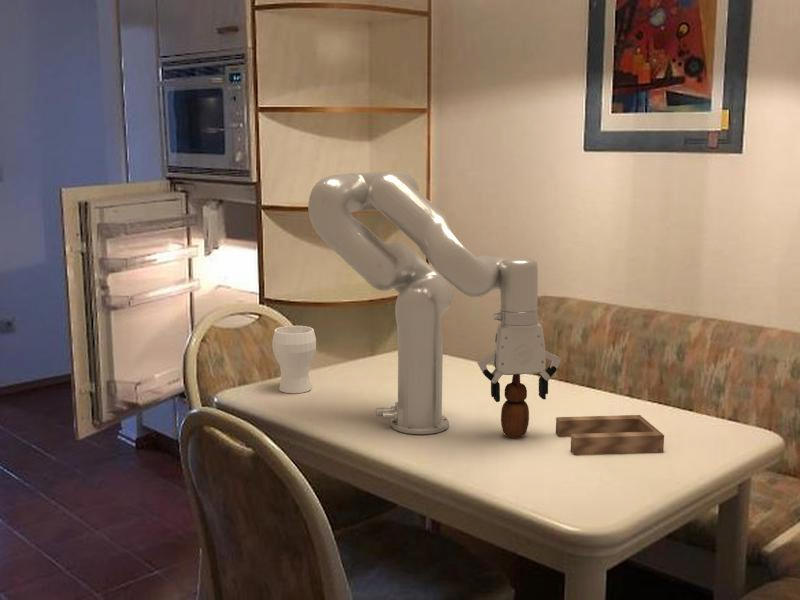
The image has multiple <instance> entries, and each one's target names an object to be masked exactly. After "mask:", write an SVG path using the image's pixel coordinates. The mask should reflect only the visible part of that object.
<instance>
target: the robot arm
mask: <svg viewBox="0 0 800 600" xmlns="http://www.w3.org/2000/svg"><path fill="white" fill-rule="evenodd" d="M308 198H309V199H308V204H307V205H308V206H307V208H308V216H309V220H310V223H311V225H312V227H313V229H314V231H315V232H316V235H318V237H319V238H320V239H321V240H322V241H324V243H325V244H326V245H327V246H329V248H330V249H332V250H333V252H335V253H337V255H338V256H339V257H340V258H341V259H343V261H344V262H345V263H347V265H349V267H351V268H352V269H353V270H354V271H355V272H356V273H357V274H358V275H359V276H360V277H362V279H364V280H365V281H366V283H368V285H370V287H372V288H374V289H375V290H378V291H381V292H382V291H385V292H386V291H389V290H393V289H394V290H395V292H397V293H398V295H397V297H396V301H395V306H394V308H395V309H394V311H395V313H394V314H395V322H396V329H397V330H396V332H397V361H398V362H397V369H398V370H397V402H396V401H395V402H394V405H391V406H390V407H376V409H375V413H376V415H375V416H376V417H377V418H378V417H382V419H383V420H387V419H390V427H391V428H392V429H393V430H395V431H397V432H400V433H405V434H411V435H431V434H438V433H441V432H443V431H445V430H447V429H448V428H449V426H450V420H449V419H448V418H447V417H446V416H444V415H443V414H442V413H443V357H444V356H443V355H444V354H443V350H444V349H443V347H444V346H443V345H444V344H443V331H442V316H444V314H446V313H447V312H448V311H449V309H450V308H451V306H452V303H453V300H454V294H453V290H452V287H451V286H450V284H451V285H452V286H453V287H455V288H456V290H458V291H459V292H460V293H462V294H464V295H466V296H467V297H470V298H483V297H484V296H486V295H488V294H489V293H490V292H493V291H495V290H500V309H499V311H498V312H496V313H494V314H493V321H499V322H500V323H498V324H497V326H496V331H495V339H494V340H495V341H494V347H493V348H494V350H493V352H492V353H490V354H488V355H486V356H485V357H483V358H481V359H480V360H478V361H477V365H478V367H479V369H480V371H481V372H482V374H483V375H484V377H486V378H487V379H488V380H489V381H490V395H491V396H490V397H491V398H493V399H494V401H495V402H496V403H499V402H501V384H500V382H499V380H500V379H501V378H502V377H503V375H504V376H513V375H519V374H520V375H533V374H539V375H540V377H538V396H539V397H540V398H541V399H542V400H546V399H547V395H548V394H549V381H550V379H551V377H552V376H553V375H555V373H556V372H557V369H558V367H559V365H561V362H562V358H561V357H559V355H558V356H557V355H555V354H553V353H551V352H549V351H547V350H546V345H545V344H546V342H545V335H544V329H543V324H542V323H539V322H538V321H539V319H538V318H539V317H538V316H539V315H538V310H539V309H538V307H539V306H538V305H539V304H538V297H539V296H538V291H539V290H538V282H539V281H538V278H539V277H538V274H539V273H538V271H539V270H538V263H537V261H536V260H535V258H531V257H526V256H525V257H524V256H513V257H504V256H503V257H502V256H501V257H500V256H494V255H489V254H488V255H487V254H482V255H479V256H475V255H474V253H472V252H471V251H470V250H469V249H467V247H466V246H464V245H463V243H461V242H460V240H459V239H458V238H457V237H456V236H455V235H454V233H453V231H452V229H451V227H450V224H449V223H450V222H449V220H448V218H447V216H446V215H445V213H444V212H443V211H442V210H441V209H439V208H438V207H437V206H436V205H435V204H433V203H432V202H431V201H430V200H429V199H428V198H427V197H425V196H424V194H422V193H421V192H420V191H419V185H418V182H417V180H416V179H415V178H414V177H413V175H411V174H409V173H408V172H405V171H403V170H391V171H383V172H382V171H380V172H356V173H354V172H352V173H342V174H332V175H329V176H326V177H324V178H320V180H318V181H317V182H316V183H315V185H314V186H313V187H312V189H311V192H310V194H309V197H308ZM376 211H377V212H380V213H381V215H383V216H384V217H385V218H387V220H388V221H389V222H390V223H391V224H393V225H394V226H395V227H397V229H399V230H400V232H402V233H403V234H404V235H406V237H408V238H409V239H410V240H411V241H412V242H413V243H415V245H416V246H417V247H418V248H419V250H420V251H421V253H422V254H423V255H424V257H425V258H426V259H427V260H428V262H429V263H430V264H431V265H430V264H429V263H427V261H426V260H425V259H424V258H422V257H421V255H419V254H418V253H417V252H416V251H415V250H413V249H412V248H411V247H409V246H408V245H406V244H404V243H400V242H394V241H393V242H388V243H387V242H384V241H383V240H382V239H381V238H380V237H378V236H377V235H376V234H375V233H374V232H373V231H372V230H371V229H370V228H369V227H368V226H366V225H365V224H363V223H362V222H361V221H359V220H358V219H357V218H355V217H354V215H353V214H352V213H357V212H376ZM449 283H450V284H449ZM547 360H550V361H551V363H550V365H549V366H548V367H547ZM492 362H493V367H494V369H493V371H492V372H491V371H490V370H489V369H488V367H487V366H488V365H489V364H491V363H492Z"/></svg>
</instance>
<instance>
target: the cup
mask: <svg viewBox="0 0 800 600" xmlns="http://www.w3.org/2000/svg"><path fill="white" fill-rule="evenodd" d="M315 333H316V332H315V330H314V328H313V327H311V326H305V325H285V326H281V327H279V326H278V327H277V328H275V329H274V332H273V336H272V352H273V354H274V357H275V360H276V361H277V364H278V366H279V371H280V381H279V388H278V389H279V391H280V392H282V393H286V394H301V393H307V392H309V391H310V390H311V389H312V387H311V386H312V385H311V379H310V375H309V373H310V366H311V363H312V362H313V359H314V357H315V353H316V349H317V337H316V334H315Z"/></svg>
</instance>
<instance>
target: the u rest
mask: <svg viewBox="0 0 800 600" xmlns="http://www.w3.org/2000/svg"><path fill="white" fill-rule="evenodd" d="M555 434H556V435H557V437H558V438H564V437H565V438H567V437H570V452H571V453H572V454H573V456H580V455H582V456H583V455H585V456H586V455H612V454H613V455H616V454H620V455H621V454H645V453H664V445H665V434H664V433H662V432H661V431H660V430H659V429H657V427H655V426H654V425H653V424H651V423H650V422H649V421H648V420H647V419H645V417H643V416H642V415H640V414H631V415H630V414H627V415H626V414H625V415H623V414H622V415H589V416H588V415H586V416H556V417H555Z"/></svg>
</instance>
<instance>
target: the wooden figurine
mask: <svg viewBox="0 0 800 600" xmlns="http://www.w3.org/2000/svg"><path fill="white" fill-rule="evenodd" d="M511 378H512V379H511V382H510V383H507V384H506V385H505V387H504V398H505V399H506V400H505V401H504V402H503V405H502V406H501V412H500V413H501V414H500V424H501V430H502V432H503V434H504V435H505V437H508V438H512V439H518V438H522V437H524V436H525V435H526V433H527V431H528V427H529V421H530V410H529V409H530V408H529V405H528V403H527V402H526V401H525V400H526V399H527V396H528V390H527V387H526V385H525V384H524V383H521V374H519V375H512V377H511Z"/></svg>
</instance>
